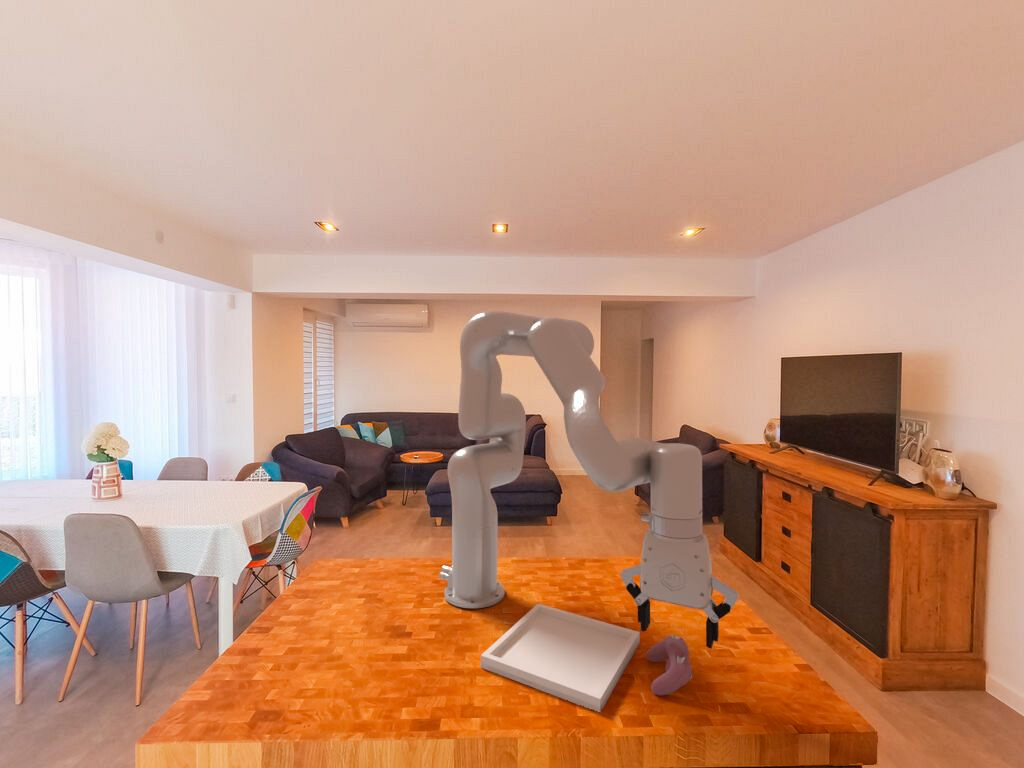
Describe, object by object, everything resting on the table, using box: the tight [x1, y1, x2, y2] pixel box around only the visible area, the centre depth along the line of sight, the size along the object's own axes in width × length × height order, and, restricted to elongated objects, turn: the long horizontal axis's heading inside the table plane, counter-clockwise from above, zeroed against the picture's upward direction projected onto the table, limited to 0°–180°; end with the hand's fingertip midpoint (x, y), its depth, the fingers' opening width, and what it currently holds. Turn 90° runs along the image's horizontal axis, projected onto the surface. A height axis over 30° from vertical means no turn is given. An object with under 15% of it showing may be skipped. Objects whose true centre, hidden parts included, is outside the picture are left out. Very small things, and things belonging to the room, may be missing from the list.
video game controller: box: [646, 633, 693, 696], centre depth 75 cm, size 10×5×7 cm, turn 169°
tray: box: [480, 603, 641, 713], centre depth 81 cm, size 20×20×2 cm
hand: (676, 635), depth 74 cm, fingers open, 9 cm apart
